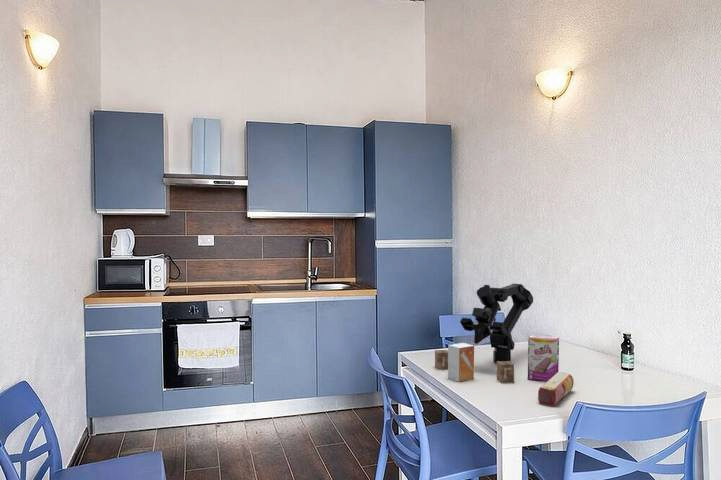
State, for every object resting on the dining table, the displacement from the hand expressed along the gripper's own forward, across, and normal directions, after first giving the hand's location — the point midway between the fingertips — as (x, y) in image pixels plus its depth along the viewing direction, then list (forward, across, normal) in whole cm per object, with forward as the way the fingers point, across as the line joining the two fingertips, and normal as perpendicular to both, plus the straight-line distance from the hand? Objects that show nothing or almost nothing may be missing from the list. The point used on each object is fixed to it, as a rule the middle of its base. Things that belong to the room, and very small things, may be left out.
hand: (475, 343), depth 212 cm
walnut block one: (+10, -14, +7) cm, 19 cm away
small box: (+16, 0, +1) cm, 16 cm away
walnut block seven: (+10, +14, +7) cm, 19 cm away
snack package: (+15, +36, +3) cm, 39 cm away
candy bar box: (+2, +24, +15) cm, 28 cm away
